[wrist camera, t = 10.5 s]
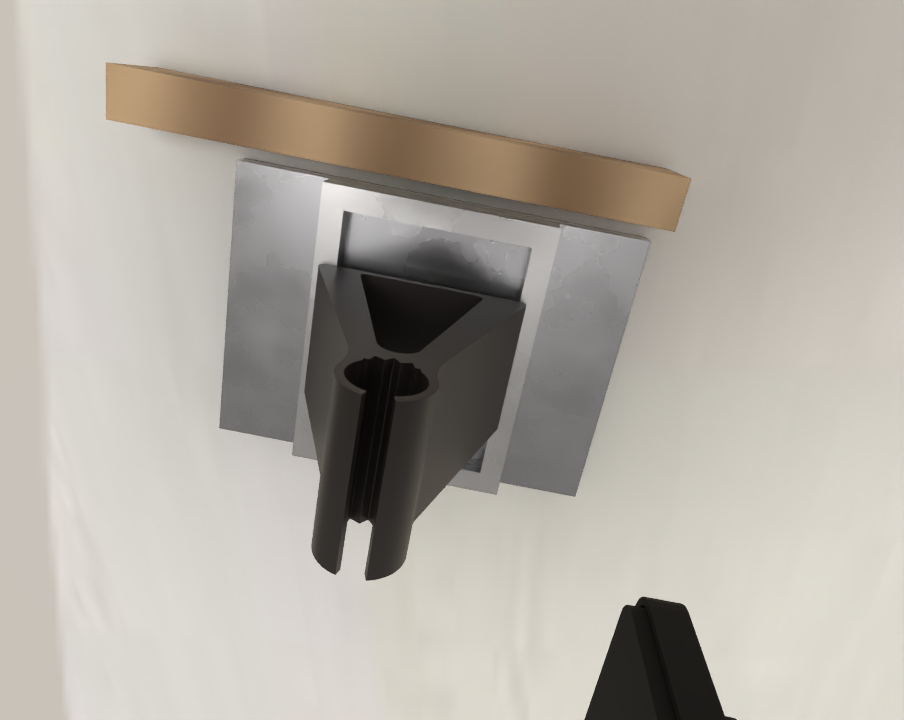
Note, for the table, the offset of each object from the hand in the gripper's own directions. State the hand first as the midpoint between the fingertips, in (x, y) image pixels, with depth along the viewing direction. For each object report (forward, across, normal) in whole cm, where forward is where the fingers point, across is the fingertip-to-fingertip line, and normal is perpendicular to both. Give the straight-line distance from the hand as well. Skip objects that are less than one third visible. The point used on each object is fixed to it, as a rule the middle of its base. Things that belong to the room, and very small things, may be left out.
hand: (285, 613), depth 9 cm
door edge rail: (+23, +2, -4) cm, 23 cm away
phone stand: (+21, 0, +4) cm, 21 cm away
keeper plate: (+23, 0, +4) cm, 23 cm away
